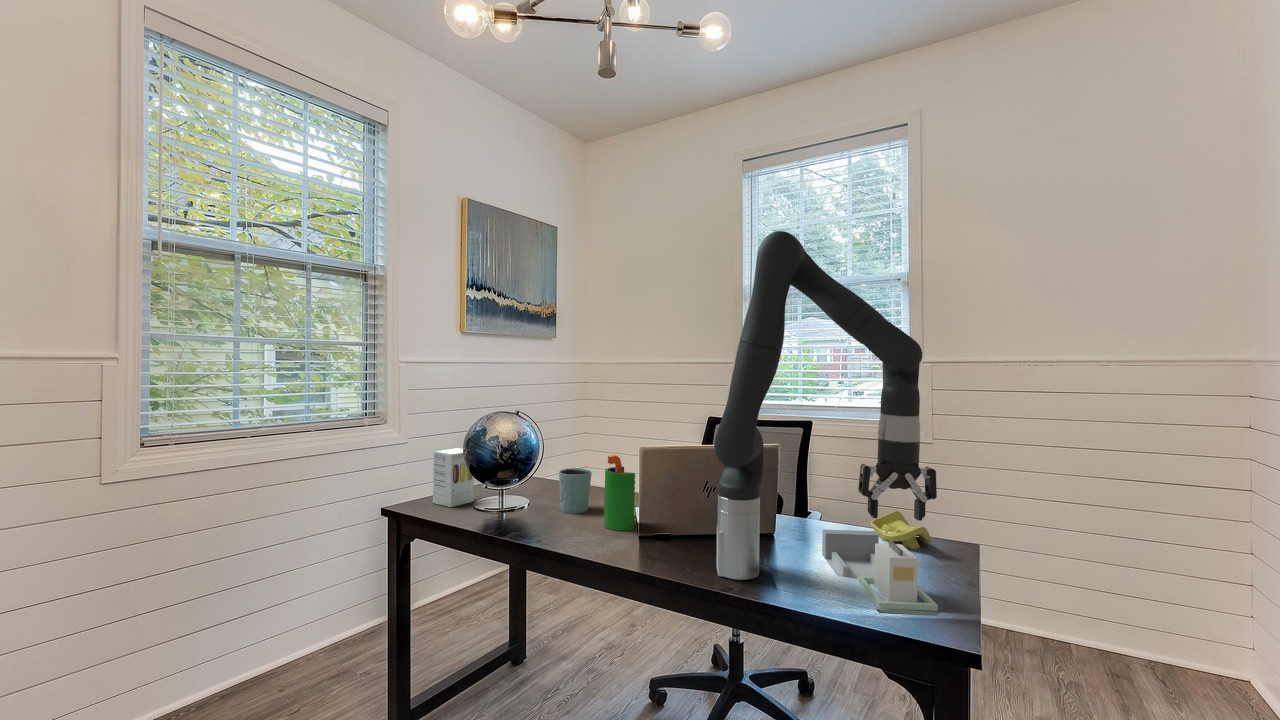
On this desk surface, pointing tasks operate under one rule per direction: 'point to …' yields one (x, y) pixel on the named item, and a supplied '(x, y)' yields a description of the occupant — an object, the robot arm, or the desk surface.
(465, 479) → the supplement box
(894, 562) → the labeled white box
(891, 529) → the plastic component
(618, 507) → the motor
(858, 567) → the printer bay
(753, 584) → the desk surface
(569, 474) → the pale teal cup
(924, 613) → the tray
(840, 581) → the desk surface
